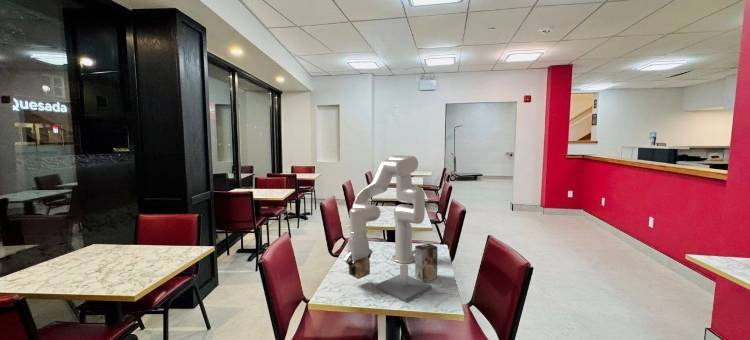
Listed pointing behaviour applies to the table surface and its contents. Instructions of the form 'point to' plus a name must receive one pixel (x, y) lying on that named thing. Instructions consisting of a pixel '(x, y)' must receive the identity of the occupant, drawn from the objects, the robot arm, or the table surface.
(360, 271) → the brown wooden cube
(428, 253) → the coffee box
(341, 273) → the table surface
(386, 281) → the post stand
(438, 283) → the table surface
